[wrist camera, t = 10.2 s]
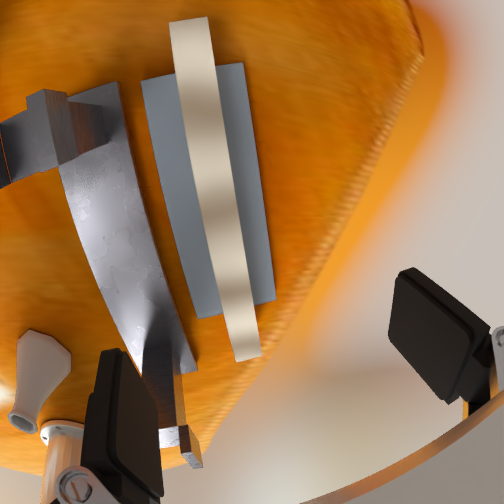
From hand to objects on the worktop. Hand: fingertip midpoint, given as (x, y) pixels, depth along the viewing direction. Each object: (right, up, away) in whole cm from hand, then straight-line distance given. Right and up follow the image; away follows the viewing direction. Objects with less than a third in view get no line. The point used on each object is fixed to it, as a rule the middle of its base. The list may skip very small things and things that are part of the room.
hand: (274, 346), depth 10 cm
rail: (-4, +7, +14) cm, 16 cm away
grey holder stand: (-12, +3, +15) cm, 19 cm away
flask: (-24, -8, +17) cm, 31 cm away
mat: (-4, +7, +15) cm, 17 cm away
